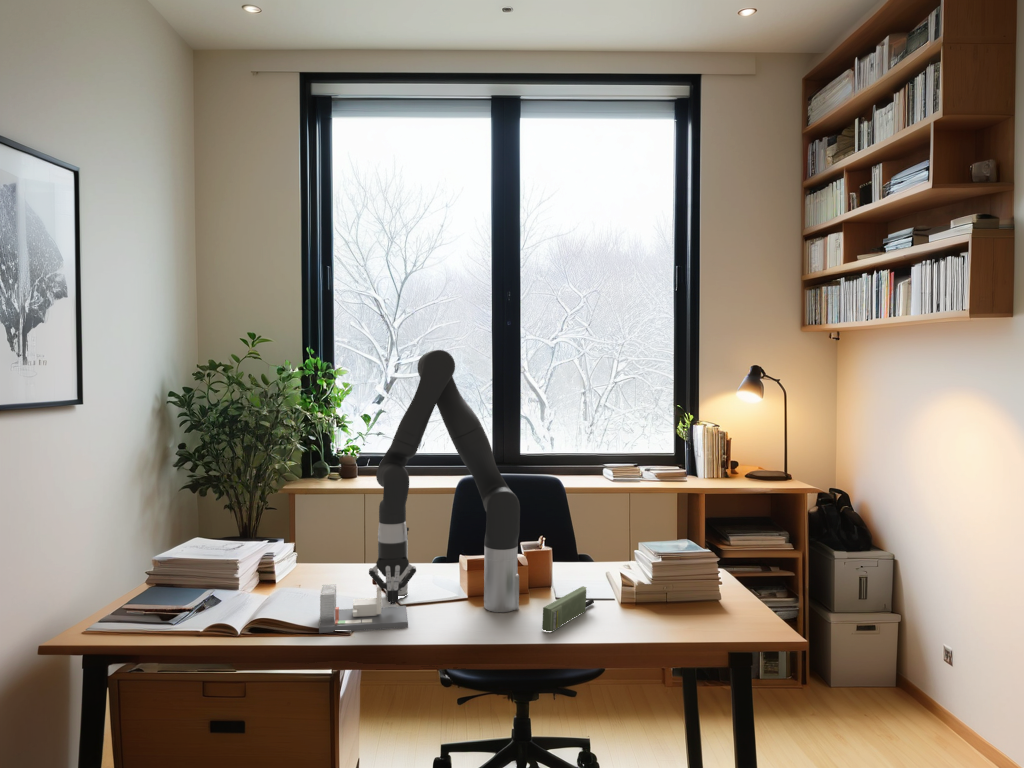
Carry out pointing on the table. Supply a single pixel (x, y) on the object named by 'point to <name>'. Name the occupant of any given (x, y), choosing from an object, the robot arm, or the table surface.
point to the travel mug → (401, 577)
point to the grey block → (327, 603)
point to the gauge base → (368, 620)
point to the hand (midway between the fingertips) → (392, 603)
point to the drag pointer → (336, 615)
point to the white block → (367, 605)
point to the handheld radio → (565, 609)
